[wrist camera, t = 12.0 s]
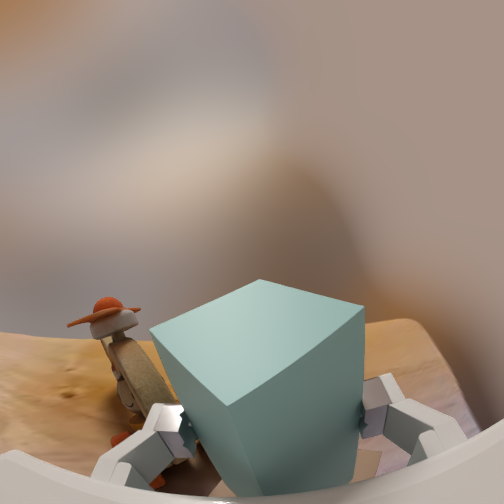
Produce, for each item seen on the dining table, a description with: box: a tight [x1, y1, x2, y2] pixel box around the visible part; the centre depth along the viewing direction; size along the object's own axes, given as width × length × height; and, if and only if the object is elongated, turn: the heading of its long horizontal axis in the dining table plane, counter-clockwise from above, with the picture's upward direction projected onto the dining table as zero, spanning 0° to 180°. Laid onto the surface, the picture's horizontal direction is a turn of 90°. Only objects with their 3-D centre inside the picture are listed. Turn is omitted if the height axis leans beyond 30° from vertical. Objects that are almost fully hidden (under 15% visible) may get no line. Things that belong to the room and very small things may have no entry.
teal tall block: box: [149, 279, 365, 497], centre depth 9 cm, size 4×4×10 cm
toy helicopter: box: [67, 297, 198, 490], centre depth 21 cm, size 8×21×14 cm, turn 40°
